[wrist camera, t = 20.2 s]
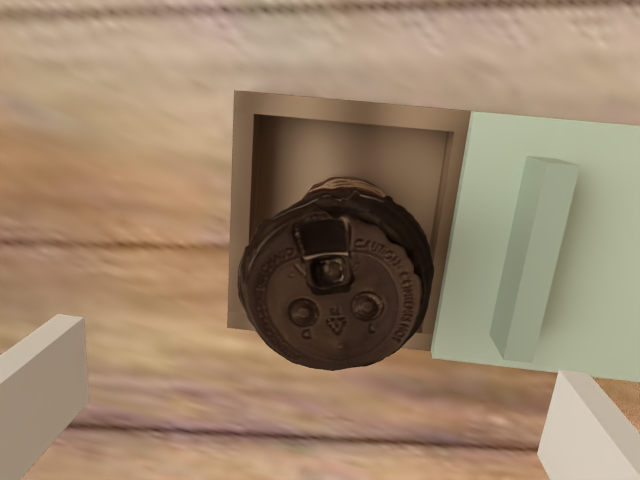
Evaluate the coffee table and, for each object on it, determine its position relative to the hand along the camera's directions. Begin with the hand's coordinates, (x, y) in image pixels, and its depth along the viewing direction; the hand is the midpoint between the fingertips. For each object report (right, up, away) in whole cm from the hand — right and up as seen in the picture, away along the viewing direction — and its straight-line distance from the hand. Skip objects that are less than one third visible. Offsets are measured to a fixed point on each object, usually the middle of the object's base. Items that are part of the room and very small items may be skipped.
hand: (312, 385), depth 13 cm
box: (+2, +6, +19) cm, 20 cm away
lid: (+15, +3, +15) cm, 22 cm away
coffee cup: (+2, +5, +18) cm, 19 cm away
